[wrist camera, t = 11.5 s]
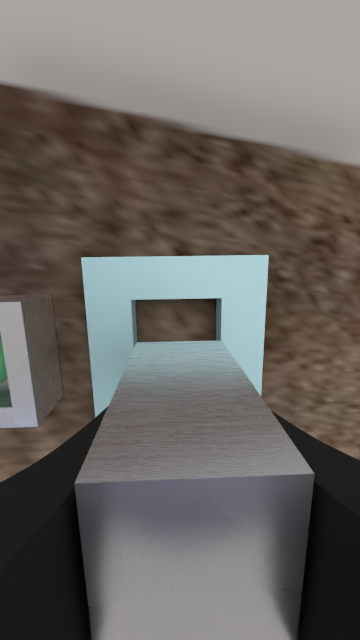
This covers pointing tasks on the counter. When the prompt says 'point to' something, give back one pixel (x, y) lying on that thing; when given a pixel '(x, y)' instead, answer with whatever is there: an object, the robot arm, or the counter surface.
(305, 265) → the counter surface
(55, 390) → the button housing
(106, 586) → the billet
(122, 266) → the pale blue window frame
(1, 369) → the button
